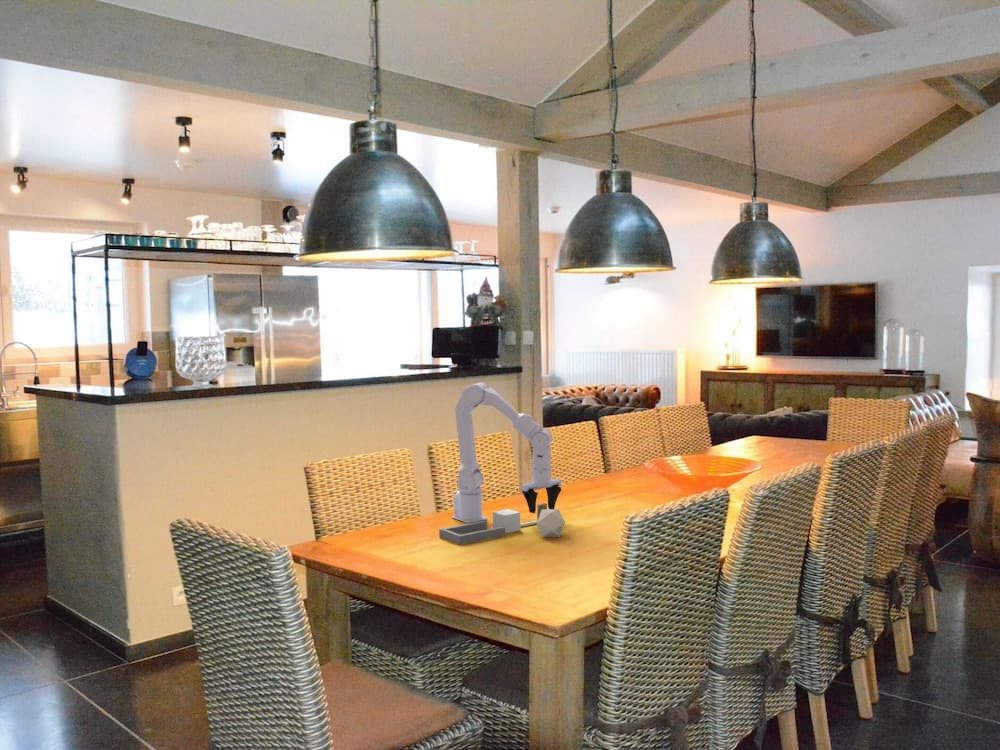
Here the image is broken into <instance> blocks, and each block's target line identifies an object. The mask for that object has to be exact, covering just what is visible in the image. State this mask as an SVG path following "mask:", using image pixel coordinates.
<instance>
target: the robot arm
mask: <svg viewBox="0 0 1000 750" xmlns="http://www.w3.org/2000/svg"><path fill="white" fill-rule="evenodd" d="M460 393H461V394H460V397H459V399H458V401H457V403H456V406H455V407H454V412H455V420H456V431H457V439H458V449H459V460H460V465H459V468H458V478H457V480H456V485H457V488H458V490H457V491H456V493H455V494H454V497H453V515H452V516H451V518H452V519H454V520H458V521H460V522H463V523H465V524H469V523H474V522H480V521H486V520H487V521H488V517H486V516H483V497H482V496H483V493H482V489H481V486H482V485H483V484H484V475H483V474H482V472H481V470H480V464H479V463H478V460H477V452H476V451H477V450H476V443H475V433H474V422H473V414H472V413H473V412H474V411H475V410H476V409H477V408H478V406H479V405H481V404H482V405H483V406H492V407H494V408H495V409H496V410H497V411H499V412H500V413H502V415H504V416H505V417H507V418H508V419H509V420H510V421H511V422H512V427H513V428H514V429H515V430H516V431H517V432H518V433H520V434H521V435H522V436H523V437H524V438H525V439H526V440H528V441H529V442H530V445H531V447H532V481H530V482H526V483H523V484H521V492H522V494H523V496H524V499H525V500H526V505H527V508H528V510H529V511H528V512H529V513H531V514H535V513H536V511H537V510H536V509H537V508H536V507H537V500H538V499H537V498H538V494H539V492H537V491H535V490H540V489H545V491H546V495H547V509H556V508H555V507H556V503H557V500H558V497H559V495H560V493H561V492H562V479H560V478H554V479H552V477H551V476H552V460H551V458H552V454H551V451H552V450H551V444H552V441H553V435H552V433H551V431H549V430H548V429H547V428H544V426H543V425H539V424H538V423H537V422H536V421H535V420H534V419H532V417H533V416H532V415H531V414H527V413H524V412H523V413H519V412H518V411H517V410H516V408H514V407H513V406H512V405H511V404H510V403H509V402H507V400H506V399H505V398H503V397H502V396H501V395H500V394H499V393H498V392H497V391H496V390H495V389H494V388H493V387H490V386H489V385H488V384H487V383H486V382H483V381H481V382H479V381H478V382H477V383H474V384H469V385H468V386H466V387H465V388H464V389H463V390H462V391H461V392H460Z"/></svg>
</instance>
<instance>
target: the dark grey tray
mask: <svg viewBox="0 0 1000 750" xmlns="http://www.w3.org/2000/svg"><path fill="white" fill-rule="evenodd" d="M487 521H488V520H487ZM487 521H486V520H481V521H476V522H470V523H464V524H460V525H459V524H458V525H453V526H448V527H442V528H439V534H438V535H439V538H441V539H443V540H446V541H448V542H450V543H453V544H456V545H459V546H461V545H466V544H472V543H475V542H482V541H486V540H491V539H497V538H501V537H506V533H505V527H497V528H493V527H492V528H488V522H487Z"/></svg>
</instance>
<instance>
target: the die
mask: <svg viewBox="0 0 1000 750" xmlns="http://www.w3.org/2000/svg"><path fill="white" fill-rule="evenodd" d="M536 521H537V520H536ZM565 523H566V520H565V519H564V517H563V515H562V513H561V510H560V509H559V508H557V509H556V508H554V509H549V508H547V509H545V510H541V513H540V516H539V518H538V521H537V524H535V525H536V527H537V529H538V532H539V533H540V536H541V537H542V538H560V537H561V534H562V531H563V528H564V526H565Z"/></svg>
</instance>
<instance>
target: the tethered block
mask: <svg viewBox="0 0 1000 750" xmlns="http://www.w3.org/2000/svg"><path fill="white" fill-rule="evenodd" d="M536 507H537V508H536V509H537V510H536V511H537V516H536V517H537V518H536V519H537V520H533V521H529V522H523V523H521V512H519V511H517V510H512V509H509V508H507V509H502V510H496V511H492V528H497V527H505V534H509V533H512V532H513V533H514V532H517V531H518V532H519V531H521V528H523V527H527V526H533V525H536V524H537V521H538V518H539V516H540V513H541V510H545V509H548V503H545V502H539V503H538V502H537V503H536Z"/></svg>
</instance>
